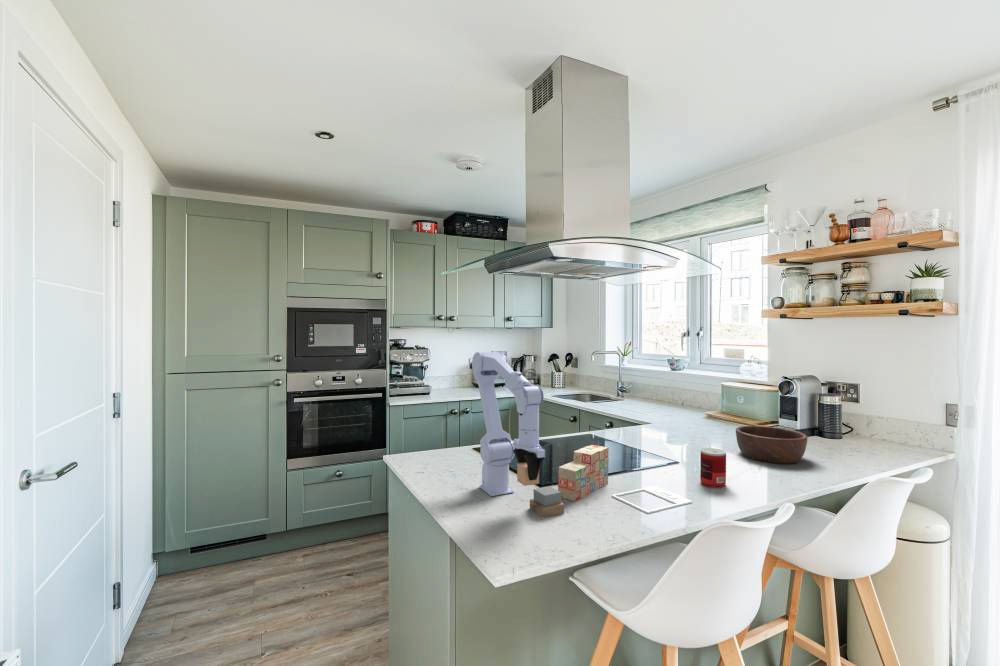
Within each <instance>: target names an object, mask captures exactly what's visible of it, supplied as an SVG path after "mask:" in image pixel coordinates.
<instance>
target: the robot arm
mask: <svg viewBox="0 0 1000 666" xmlns="http://www.w3.org/2000/svg"><path fill="white" fill-rule="evenodd" d="M471 368H472V373H473V374H472V375H473V378H474V380H475V381H477V384H478V391H479V396H480V403H481V407H482V414H483V418H484V424H485V425H484V426H485V429H486V433H485V434H484V435H483V436H482V437H481V439H480V441H479V443H480V444H479V445H480V452H479V453H480V457H481V460H482V461H483V464H482V466H481V484H480V485H479V486H478V487H479V488H480V489H481V490H483V491H484V492H485V493H486V494H488V495H489V496H490V497H495V496H501V495H507V494H512V493H514V492H515V490H514V489H512V488H510V482H509V481H510V464H511V463H512V460H513V459H514V458H516V460H517V461H516V462H517V463H524V462H526V463H527V467H528V477H529V480H536V479H537V476H538V472H539V473H540V469H541V466H542V464H543V461H544V460H545V457H546V449H543V448H542V445H540V406H542V404H543V402H544V399H545V398H544V391H543V389H542V388H541V386H540V385H539V384H532V383H531V382H530V381H529V380H528V379H527V378H526V377H525V376H524V375H523V373H522V372H521V371H514V370H513V368H512V367H511V366H510V365H509V364H508V362H507V356H506V355H505V354H504V352H503V351H491V352H488V351H487V352H485V351H483V352H480V351H476V352H475V353H474V354H473V356H472V359H471ZM500 377H502V378H503V379H504V385H505V386H506V388H507V389H508V390H509V391H510V392H511V393H512V394H513V395H514V402H515V405H516V411H517V413H518V438H514V439H513V440H512V437H511V434H510V433H508V432H507V431H505V430H503V425H502V419H501V415H500V409H499V404H498V397H497V394H496V389H495V388H496V387H495V380H498V379H499V378H500Z"/></svg>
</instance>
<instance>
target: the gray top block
mask: <svg viewBox="0 0 1000 666" xmlns="http://www.w3.org/2000/svg"><path fill="white" fill-rule="evenodd" d="M533 499H534V500H535V501H536V502H538V503H540V504H541V505H543V506H549V505H554V504H558V503H561V502H562V498H561V492H560V491H558V489H556V488H553V486H550V485H549V486H545V487H540V488H539V487H538V488H534V489H533Z"/></svg>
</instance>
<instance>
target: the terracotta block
mask: <svg viewBox="0 0 1000 666" xmlns="http://www.w3.org/2000/svg"><path fill="white" fill-rule="evenodd" d="M516 466H517V468H516V470H517V471H516V472H517V474H516V480H517V482H518V483H520V484H521V485H523V486H525V487H527V486H531V485H538V484H540V471H539V472H538V476H537V479H536V480H529V477H528V467H527V463H526V462H524V463H518V462H517V465H516Z"/></svg>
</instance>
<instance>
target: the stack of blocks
mask: <svg viewBox="0 0 1000 666" xmlns="http://www.w3.org/2000/svg"><path fill="white" fill-rule="evenodd" d="M609 451H610V450H609V447H606V446H601V445H596V444H590V445H587V446H584V447H582V448H578V449H577V450H574V451H573V460H572V461H570V462H568V463H565V464H563V465H560V466H558V477H557V490H558V491H560V492H561V499H566V500H568V501H572V502H577V501H578V500H580V499H583V498H585V497H586V496H589V495H590V494H592V493H594V492H595V491H597V490H598V489H601V488H603V487H604V486H607V485H608V484H609V459H610V458H609Z"/></svg>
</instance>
